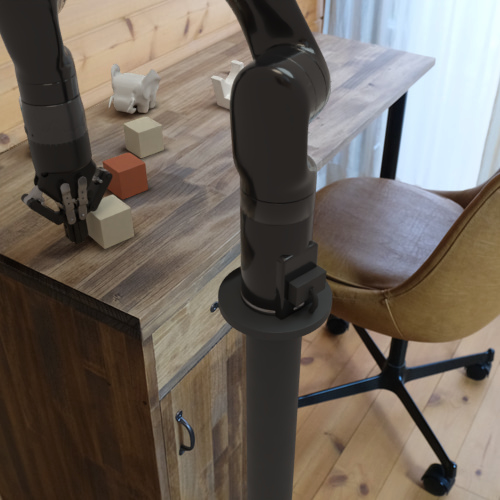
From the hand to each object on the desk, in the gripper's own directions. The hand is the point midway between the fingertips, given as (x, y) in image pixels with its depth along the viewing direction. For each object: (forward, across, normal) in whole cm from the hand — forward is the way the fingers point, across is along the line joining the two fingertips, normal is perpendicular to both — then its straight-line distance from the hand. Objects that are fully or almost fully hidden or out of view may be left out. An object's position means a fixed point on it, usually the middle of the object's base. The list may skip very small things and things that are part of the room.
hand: (78, 240), depth 92 cm
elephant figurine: (+2, +32, +36) cm, 48 cm away
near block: (+2, +5, 0) cm, 5 cm away
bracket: (+2, +50, +21) cm, 54 cm away
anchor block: (+2, +14, +10) cm, 17 cm away
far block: (+2, +24, +20) cm, 31 cm away
